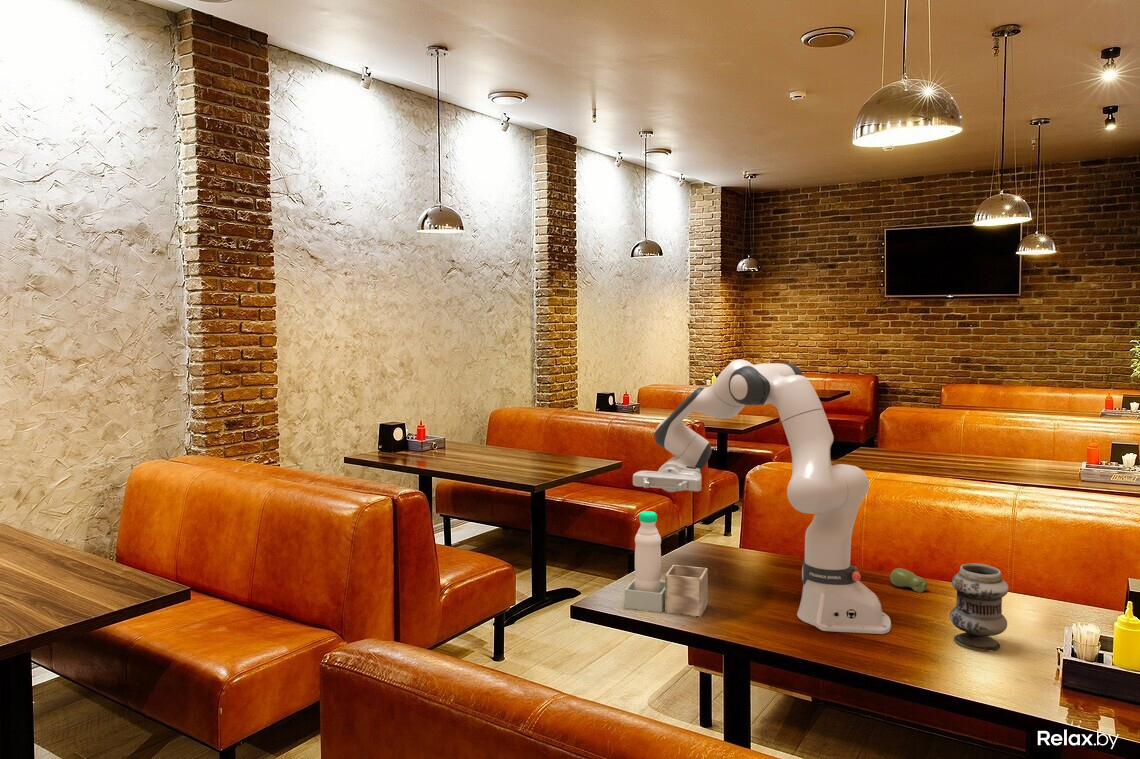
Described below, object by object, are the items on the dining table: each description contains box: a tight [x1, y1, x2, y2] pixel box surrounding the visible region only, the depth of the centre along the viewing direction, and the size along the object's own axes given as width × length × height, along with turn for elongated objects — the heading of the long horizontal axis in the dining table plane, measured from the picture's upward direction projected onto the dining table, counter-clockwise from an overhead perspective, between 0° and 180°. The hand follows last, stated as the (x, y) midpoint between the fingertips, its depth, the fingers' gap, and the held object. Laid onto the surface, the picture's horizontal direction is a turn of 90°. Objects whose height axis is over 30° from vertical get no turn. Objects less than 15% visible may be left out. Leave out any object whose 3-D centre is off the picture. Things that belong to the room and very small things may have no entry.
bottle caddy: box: [624, 577, 665, 613], centre depth 213 cm, size 10×10×5 cm
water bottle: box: [634, 510, 662, 593], centre depth 212 cm, size 7×7×25 cm
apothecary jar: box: [949, 562, 1009, 652], centre depth 186 cm, size 12×12×18 cm
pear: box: [889, 567, 929, 594], centre depth 225 cm, size 6×5×10 cm
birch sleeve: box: [664, 564, 708, 618], centre depth 209 cm, size 9×9×10 cm
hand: (662, 486), depth 227 cm, fingers open, 8 cm apart
